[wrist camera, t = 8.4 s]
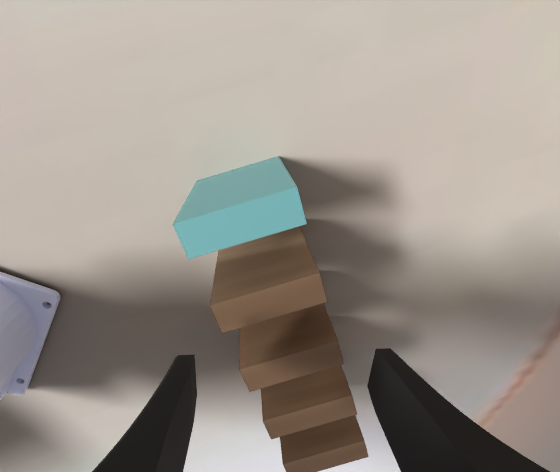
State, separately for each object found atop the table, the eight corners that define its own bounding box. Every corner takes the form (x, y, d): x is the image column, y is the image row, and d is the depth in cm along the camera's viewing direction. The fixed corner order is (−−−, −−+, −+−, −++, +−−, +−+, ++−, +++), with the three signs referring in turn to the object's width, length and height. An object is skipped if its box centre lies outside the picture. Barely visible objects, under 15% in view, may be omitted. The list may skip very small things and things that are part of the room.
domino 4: (337, 367, 26) (368, 456, 19) (278, 385, 26) (289, 479, 19) (333, 353, 25) (364, 440, 19) (272, 371, 25) (283, 464, 19)
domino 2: (315, 288, 23) (343, 363, 16) (247, 308, 23) (249, 391, 16) (310, 269, 22) (337, 340, 15) (240, 290, 22) (239, 369, 16)
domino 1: (301, 239, 21) (327, 301, 14) (228, 261, 21) (222, 333, 15) (295, 217, 20) (319, 272, 14) (220, 240, 20) (209, 305, 14)
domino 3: (327, 330, 24) (356, 414, 18) (264, 349, 24) (271, 439, 18) (322, 314, 24) (351, 395, 17) (257, 333, 24) (262, 420, 17)
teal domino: (285, 182, 19) (306, 224, 13) (206, 205, 19) (188, 259, 13) (278, 156, 19) (296, 186, 12) (196, 181, 19) (172, 224, 12)
